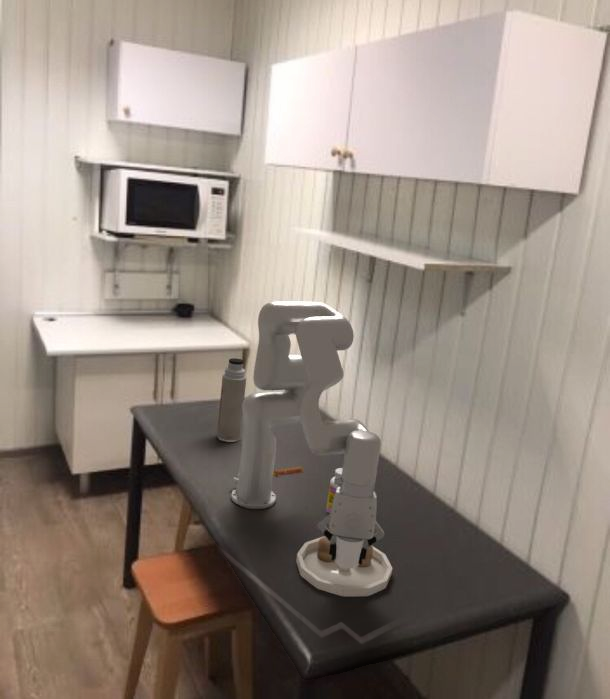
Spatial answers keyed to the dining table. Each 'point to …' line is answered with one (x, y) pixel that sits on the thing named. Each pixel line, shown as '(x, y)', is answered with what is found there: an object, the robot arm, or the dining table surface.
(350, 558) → the white rimmed cylinder
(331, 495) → the supplement bottle
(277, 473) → the chocolate bar
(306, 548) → the tray
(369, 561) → the bead
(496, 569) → the dining table surface
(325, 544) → the bead
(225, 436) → the thermos bottle
